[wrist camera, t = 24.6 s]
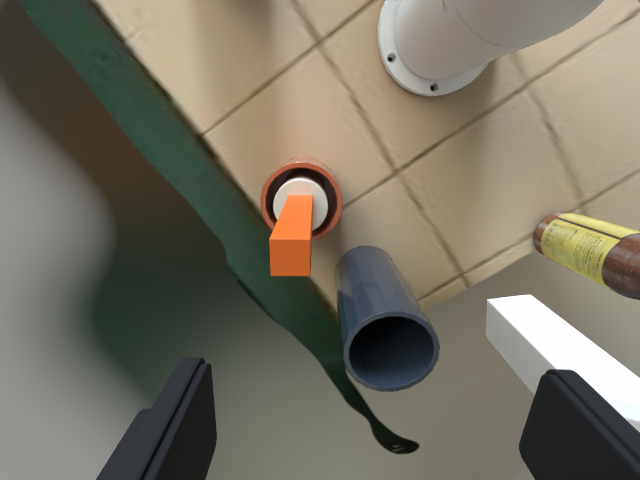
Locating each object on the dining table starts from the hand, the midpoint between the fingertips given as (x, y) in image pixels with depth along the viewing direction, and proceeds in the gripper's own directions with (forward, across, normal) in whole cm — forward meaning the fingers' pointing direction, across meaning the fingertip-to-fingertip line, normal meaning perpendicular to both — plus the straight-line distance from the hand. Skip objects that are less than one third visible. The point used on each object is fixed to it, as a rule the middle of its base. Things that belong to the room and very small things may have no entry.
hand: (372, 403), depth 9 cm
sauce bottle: (+32, -29, +4) cm, 44 cm away
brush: (+31, +3, 0) cm, 32 cm away
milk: (+32, -25, +16) cm, 44 cm away
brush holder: (+32, +3, 0) cm, 32 cm away
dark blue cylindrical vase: (+32, -5, +11) cm, 34 cm away
